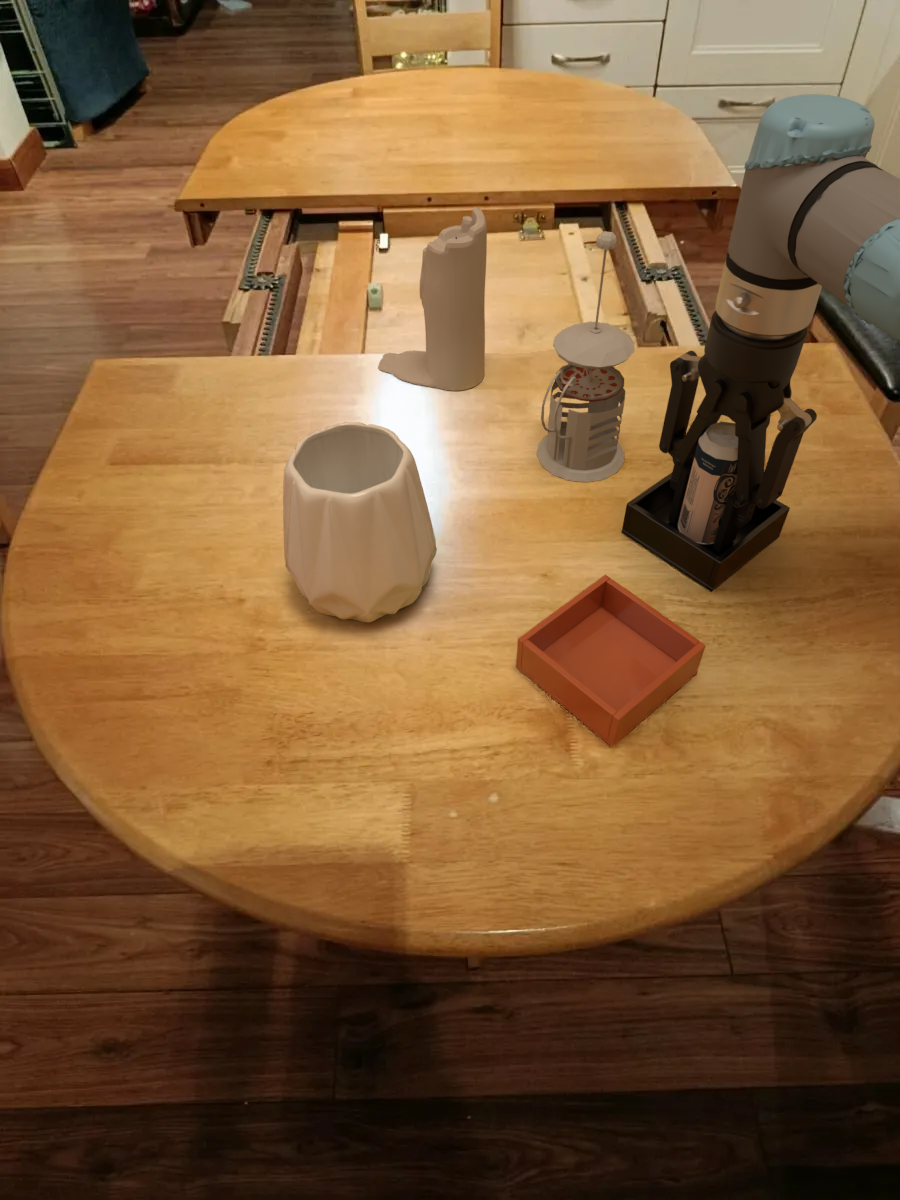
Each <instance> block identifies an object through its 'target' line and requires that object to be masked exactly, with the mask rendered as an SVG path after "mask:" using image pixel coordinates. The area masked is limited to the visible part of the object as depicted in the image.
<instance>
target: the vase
mask: <svg viewBox="0 0 900 1200" xmlns="http://www.w3.org/2000/svg"><path fill="white" fill-rule="evenodd" d="M288 457H289V458H288V459H287V460H286V464H285V466H284V469H283V470H284V471H283V483H282V485H283V486H282V487H283V488H282V491H283V492H282V518H283V519H282V522H283V524H282V525H283V529H282V530H283V554H284V555H283V556H284V562H285V568H286V570H287V572H288V573H289V574H290V575H291V576H292V578H293V580H294V582H295V584H296V586H297V588H298V590H299V592H300V594H301V596H302V597H303V598H305V599H307V600H308V604H309V605H310V606H311V607H312V608H313V609H314V610H315V611H316V612H318V613H319V614H321V615H326V616H331V617H337V618H338V619H340V620H344V621H345V620H349V619H351V620H354V621H359V622H362V623H372V622H374V621H376V620H378V619H381V618H382V617H385V616H387V615H395V614H396V613H397V612H398V611H399V610H400V609H403V608H405V607H408V606H410V605H412V604H414V603H415V602H416V600H417V599H418V597H419V596H420V595H421V592H422V586H425V585H426V584H427V583H428V581H429V577H430V573H431V570H432V565H433V561H434V559H435V557H436V555H437V550H438V549H437V544H436V543H437V542H436V536H435V531H434V527H433V523H432V519H431V515H430V510H429V506H428V502H427V499H426V495H425V491H424V487H423V484H422V480H421V477H420V473H419V470H418V466H417V463H416V459H415V457H414V455H413V453H412V451H411V450H410V448H409V447H408V446H407V444H405V443H404V442H403V441H402V440H401V439H400V438H399V436H398V435H397V434H396V433H395V432H394V431H393V430H391V429H389V428H387V427H384V426H382V425H377V424H372V423H369V424H365V423H363V422H359V421H357V422H356V421H344V422H339V423H335V424H330V425H327V426H326V427H324V428H320V429H317V430H314V431H313V432H310V433H309V434H308V435H306V436H305V437H303V438H302V439H301V440H300V441H299V442H297V444H295V447H294V450H293V451H292V452H291V453H290V456H288Z"/></svg>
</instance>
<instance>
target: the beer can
mask: <svg viewBox="0 0 900 1200" xmlns="http://www.w3.org/2000/svg"><path fill="white" fill-rule="evenodd" d="M737 463H738V437H736V436H735V422H728V421H718V422H717V423H715V424H712V425H710V426H709V427H708V428H707V429H706V431H705V432H704V433H703V435H701V436H700V437H699V441H698V445H697V449H696V453H695V457H694V461H693V465H692V469H691V473H690V477H689V481H688V485H687V489H686V493H685V497H684V501H683V505H682V509H681V513H680V517H679V521H678V529H679V531H680V532H681V533H682V534H684V535H685V536H687V537H689V538H690V539H692V540H693V541H695V542H696V543H698V544H714V542H715V539H716V536H717V532H718V529H719V526H720V522H721V519H722V515H723V512H724V509H725V505H726V502H727V499H728V498H729V497H730V496H731V495H733V494H734V493H736V492H737Z"/></svg>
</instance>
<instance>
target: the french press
mask: <svg viewBox="0 0 900 1200" xmlns="http://www.w3.org/2000/svg"><path fill="white" fill-rule="evenodd" d="M617 240H618V239H617V236H616V234H615V233H614V232H613V231H606V230H604V231H602V232H601V233H599V234H598V235H597V236H596V242H595V247H596V248H597V249H600V250H603V258H602V267H601V274H600V275H601V276H600V283H599V291H598V298H597V308H596V315H595V321H585V322H580V323H575V324H572V325H570V326H567V327H565V328H563V329H561V330H560V331H559V332H558V333H557V334H556V335H555V336H554V338H553V343H552V347H553V348H554V350H555V352H556V354H557V356H558V357H559V358H560V359H561V360H563V361H564V362H565V363H567V364H565V365H563V366H561V367H560V369H559V370H557V372H555V375H554V376H553V377H552V379H551V380H550V383H549V384H548V387H547V389H546V392H545V394H544V397H543V400H542V403H541V414H540V420H541V425H542V427H543V429H544V431H546V432H547V435H545V436H544V437H543V439H542V440H541V441H540V442H539V443H538V445H537V450H536V457H537V458H538V460H539V463H540V465H541V467H543V468H544V469H545V470H546V471H548V472H549V473H550V474H552V475H553V476H555V477H559V478H561V479H563V480H565V481H571V482H579V483H580V482H581V483H590V482H595V481H596V482H597V481H601V480H602V481H603V480H606V479H607V478H609V477H611V476H613V475H615V474H617V473H618V471H619V470H620V469H621V467H622V466H623V465H624V464H625V450H624V449H623V448H622V446H621V444H620V442H619V438H620V437H619V436H620V432H621V424H622V419H623V418H622V417H623V416H622V415H623V413H624V408H625V400H626V389H625V388H624V387H625V377H624V376H623V374H622V373H621V371H620V370H618V369H617V368H615V367H616V366H618V365H620V364H623V363H625V362H626V361H628V360H629V359H630V357H632V356H633V354H634V353H635V341H634V339H632V337H631V336H630V334H629V333H627V332H626V331H624V330H622V329H620V327H617V326H615V325H612V324H610V323H608V322H599V315H600V308H601V300H602V292H603V283H604V277H605V268H606V259H607V251H610V250H613V249H615V248H616V247H617ZM556 389H559V391H557V392H555V393H554V391H555V390H556ZM550 391H551V392H550ZM549 392H550V399H549V401H550V402H549V414H548V425H547V427H546V424H545V404H546V400H547V398H548V395H549ZM553 393H554V394H553ZM563 398H564V399H570V400H571V399H572V400H578V401H581V403H579V402H578V403H577V402H566V401H565V402H564V401H562V399H563ZM556 399H558V400H556ZM563 409H568V411H563ZM572 409H578V410H579V409H587V411H585V412H579V411H575V410H572ZM618 417H619V418H618ZM562 418H565V419H566V418H567V419H566V421H563V420H562ZM617 427H618V429H617Z"/></svg>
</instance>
